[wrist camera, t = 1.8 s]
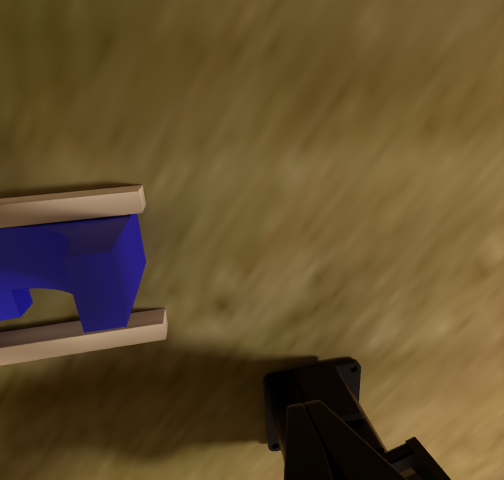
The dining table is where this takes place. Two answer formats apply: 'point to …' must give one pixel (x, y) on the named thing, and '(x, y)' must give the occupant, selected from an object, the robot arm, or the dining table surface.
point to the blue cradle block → (74, 267)
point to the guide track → (71, 333)
